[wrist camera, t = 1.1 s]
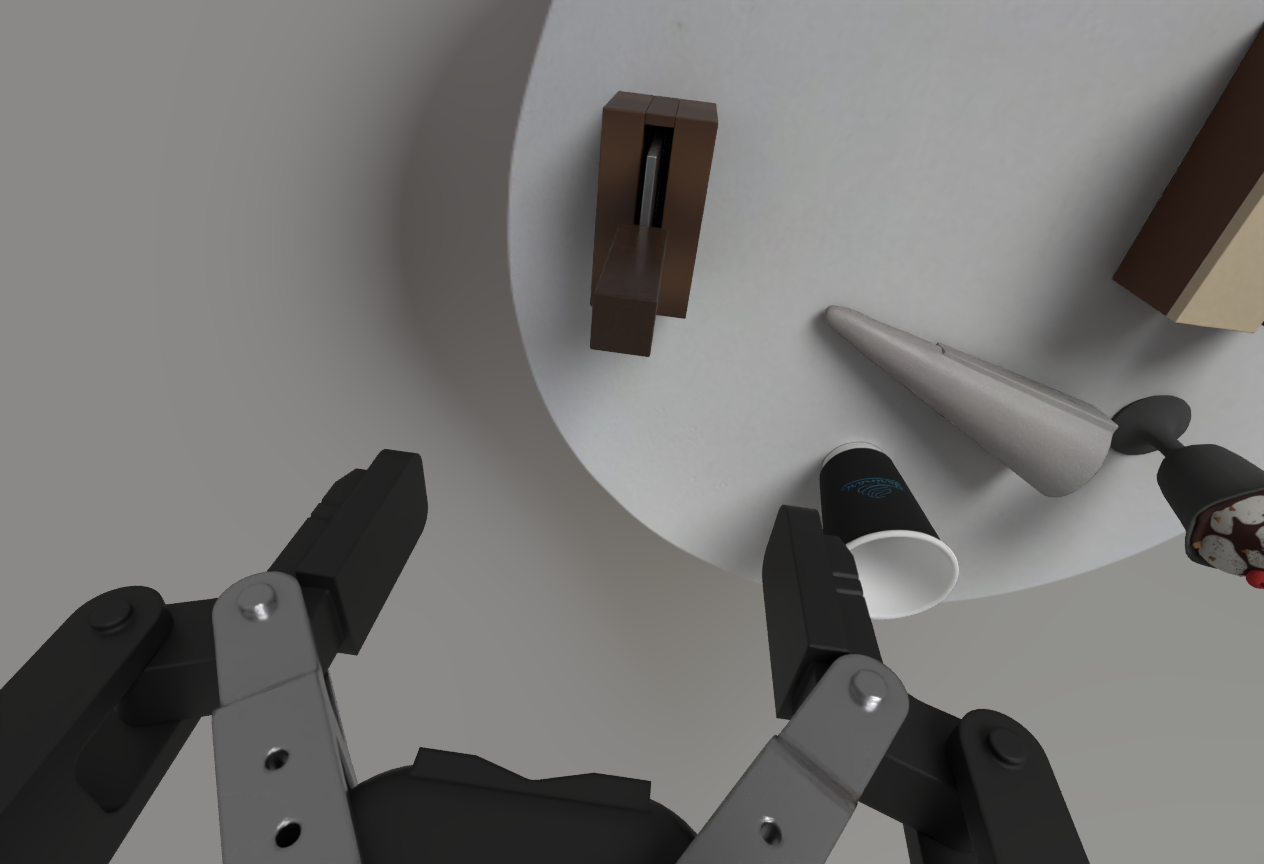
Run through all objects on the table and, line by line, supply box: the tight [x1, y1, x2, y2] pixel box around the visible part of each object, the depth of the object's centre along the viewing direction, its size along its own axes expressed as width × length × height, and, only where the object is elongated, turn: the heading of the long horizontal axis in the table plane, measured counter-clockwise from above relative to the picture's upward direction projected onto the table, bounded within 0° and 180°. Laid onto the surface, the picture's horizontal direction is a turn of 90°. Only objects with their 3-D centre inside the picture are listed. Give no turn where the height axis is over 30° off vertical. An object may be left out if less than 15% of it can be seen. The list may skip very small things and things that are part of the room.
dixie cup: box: [820, 442, 959, 619], centre depth 42 cm, size 8×8×11 cm
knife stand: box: [590, 91, 718, 319], centre depth 33 cm, size 10×5×6 cm, turn 174°
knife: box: [590, 126, 668, 357], centre depth 29 cm, size 8×2×18 cm, turn 174°
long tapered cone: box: [824, 306, 1118, 497], centre depth 40 cm, size 6×6×19 cm
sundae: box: [1110, 396, 1264, 589], centre depth 36 cm, size 7×7×15 cm
